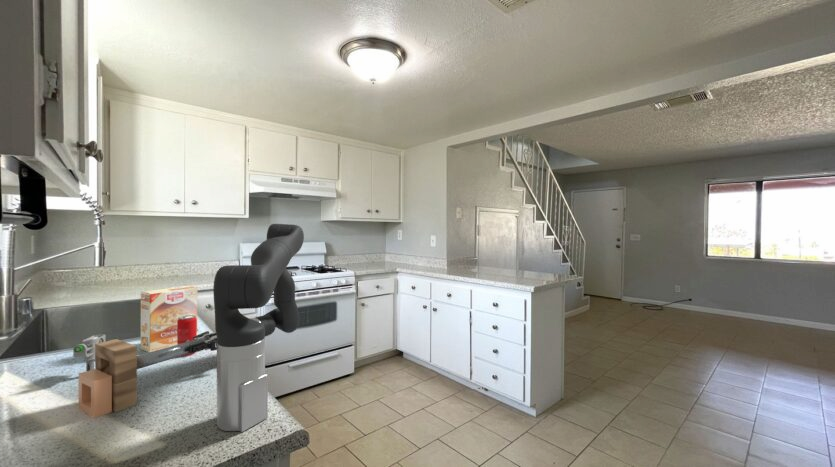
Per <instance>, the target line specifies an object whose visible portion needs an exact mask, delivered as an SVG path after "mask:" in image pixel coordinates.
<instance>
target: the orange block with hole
mask: <svg viewBox="0 0 835 467" xmlns="http://www.w3.org/2000/svg"><path fill="white" fill-rule="evenodd" d="M78 410H80V411H82V412H83V413H85V414H86V415H88V416H90V417H92V418H93V419H96V418H99V417H101V416H105V415H107V414H109V413H112V412H113V410H112V376H110V375H108V374H106V373H104V372H101V371H99V370H97V369H95V368H94V370H90V371H84V372H80V373H78ZM98 416H99V417H98Z"/></svg>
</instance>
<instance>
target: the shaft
mask: <svg viewBox="0 0 835 467" xmlns="http://www.w3.org/2000/svg"><path fill="white" fill-rule="evenodd" d="M209 339H210V337H209V336H206V337H204V338H200V339H196V340H193V341H189V342H185V343H182V344H178V345H174V346H171V347H167V348H163V349H160V350H156V351H152V352H146V353H141V354H139V355H137V370H140V369H143V368H146V367H149V366H152V365H153V366H154V365H157V364H159V363H163V362H166V361H169V360H173V359H176V358H178V357H184V356H183V355H186V354H190V353H189V346H190V345H192V344H196V343H200V342H204V341H206V340H209Z"/></svg>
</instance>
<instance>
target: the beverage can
mask: <svg viewBox="0 0 835 467" xmlns="http://www.w3.org/2000/svg"><path fill="white" fill-rule="evenodd" d="M196 335H198V317H197V318H196V316H195V315H187V316H182V317H179V318H178V321H177V345H178V344H181V343H183V342H187V341H191V340H193V337H194V336H196ZM195 354H196V352H195V353H192V354H191V353H190V354H186V355H183V356H182V357H189V356H193V355H195Z"/></svg>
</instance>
